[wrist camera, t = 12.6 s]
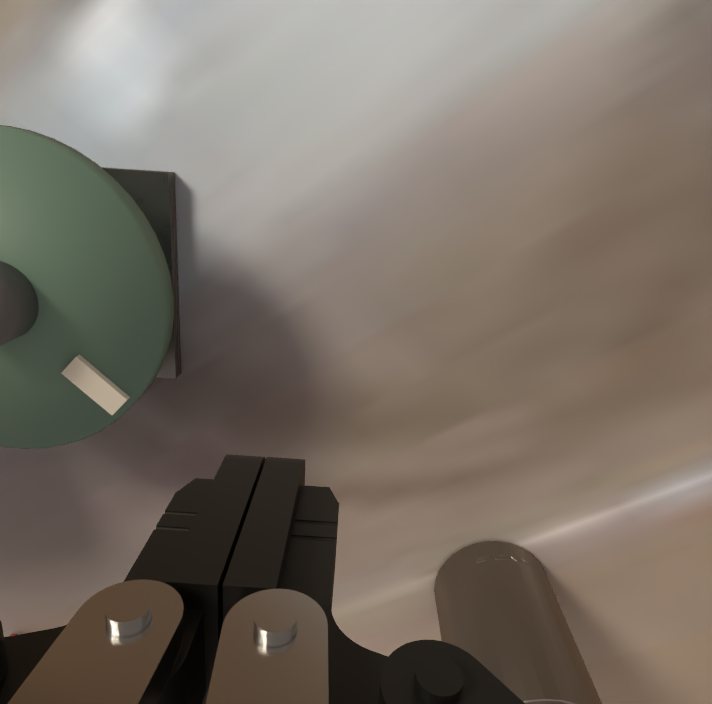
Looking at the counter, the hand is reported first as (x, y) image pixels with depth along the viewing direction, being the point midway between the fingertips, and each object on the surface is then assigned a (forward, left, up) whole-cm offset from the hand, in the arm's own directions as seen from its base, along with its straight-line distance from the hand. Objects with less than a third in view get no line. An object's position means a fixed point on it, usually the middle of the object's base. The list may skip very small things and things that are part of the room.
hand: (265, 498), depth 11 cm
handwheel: (-2, +18, -22) cm, 28 cm away
